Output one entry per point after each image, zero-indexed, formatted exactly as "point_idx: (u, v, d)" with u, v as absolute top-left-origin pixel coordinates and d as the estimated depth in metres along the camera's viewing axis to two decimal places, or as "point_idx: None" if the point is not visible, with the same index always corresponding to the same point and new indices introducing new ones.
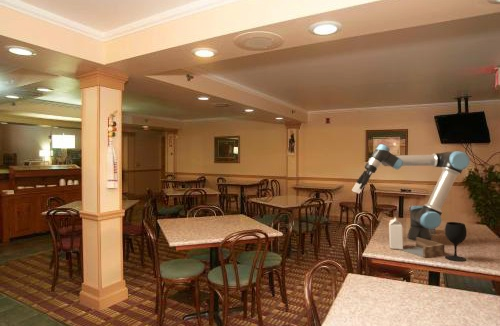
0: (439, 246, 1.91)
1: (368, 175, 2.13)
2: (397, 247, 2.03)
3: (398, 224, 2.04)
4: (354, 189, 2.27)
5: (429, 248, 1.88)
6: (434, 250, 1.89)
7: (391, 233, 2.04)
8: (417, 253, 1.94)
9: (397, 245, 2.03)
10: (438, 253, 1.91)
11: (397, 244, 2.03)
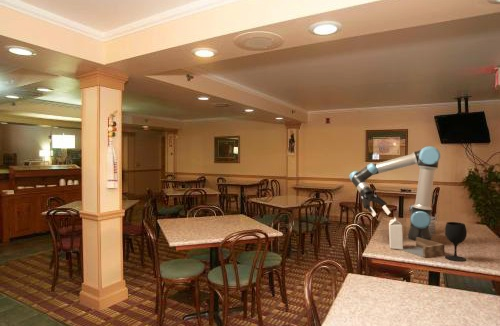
0: (439, 246, 1.91)
1: (363, 199, 2.20)
2: (397, 247, 2.03)
3: (398, 224, 2.04)
4: (387, 212, 2.20)
5: (429, 248, 1.88)
6: (434, 250, 1.89)
7: (391, 233, 2.04)
8: (417, 253, 1.94)
9: (397, 245, 2.03)
10: (438, 253, 1.91)
11: (397, 244, 2.03)
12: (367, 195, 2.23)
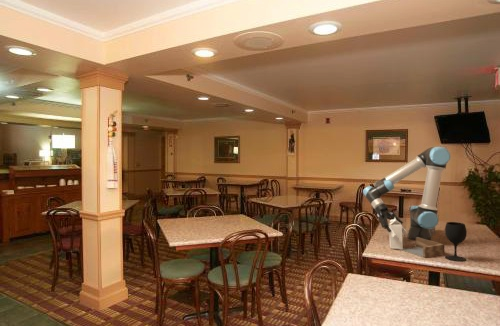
0: (439, 246, 1.91)
1: (379, 218, 2.09)
2: (397, 247, 2.03)
3: (398, 224, 2.04)
4: (403, 232, 2.07)
5: (429, 248, 1.88)
6: (434, 250, 1.89)
7: None
8: (417, 253, 1.94)
9: (397, 245, 2.03)
10: (438, 253, 1.91)
11: (397, 244, 2.03)
12: (382, 212, 2.12)
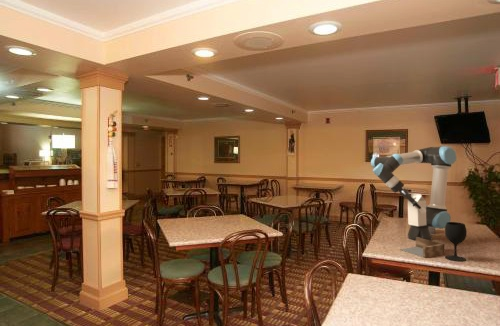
0: (439, 246, 1.91)
1: (406, 195, 1.94)
2: (423, 224, 1.95)
3: (421, 200, 1.96)
4: None
5: (429, 248, 1.88)
6: (434, 250, 1.89)
7: (418, 210, 1.94)
8: (417, 253, 1.94)
9: (422, 221, 1.95)
10: (438, 253, 1.91)
11: (423, 221, 1.95)
12: None
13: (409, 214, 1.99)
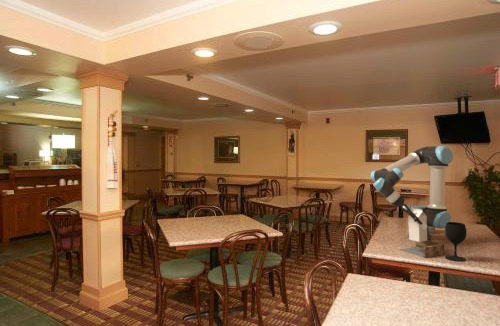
0: (439, 246, 1.91)
1: (408, 211, 1.93)
2: (424, 239, 1.95)
3: (422, 215, 1.96)
4: None
5: (429, 248, 1.88)
6: (434, 250, 1.89)
7: (419, 225, 1.93)
8: (417, 253, 1.94)
9: (423, 237, 1.95)
10: (438, 253, 1.91)
11: (424, 236, 1.95)
12: (404, 205, 1.97)
13: (410, 229, 1.98)
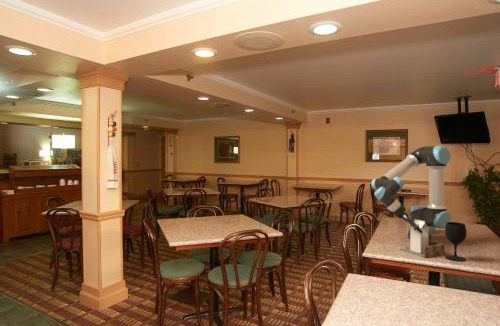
0: (439, 246, 1.91)
1: (408, 219, 1.93)
2: None
3: (424, 227, 1.96)
4: None
5: (429, 248, 1.88)
6: (434, 250, 1.89)
7: (421, 237, 1.93)
8: (417, 253, 1.94)
9: None
10: (438, 253, 1.91)
11: None
12: (405, 214, 1.98)
13: (411, 240, 1.98)
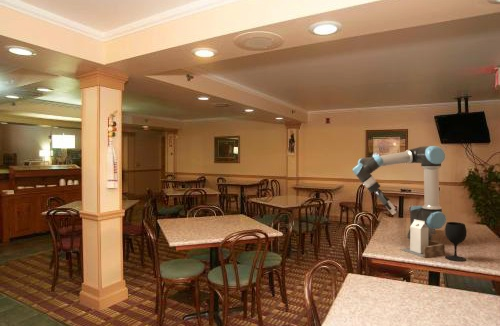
0: (439, 246, 1.91)
1: (379, 196, 2.02)
2: None
3: (424, 227, 1.96)
4: (392, 207, 2.12)
5: (429, 248, 1.88)
6: (434, 250, 1.89)
7: (421, 237, 1.93)
8: (417, 253, 1.94)
9: None
10: (438, 253, 1.91)
11: None
12: (378, 191, 2.06)
13: (411, 240, 1.98)
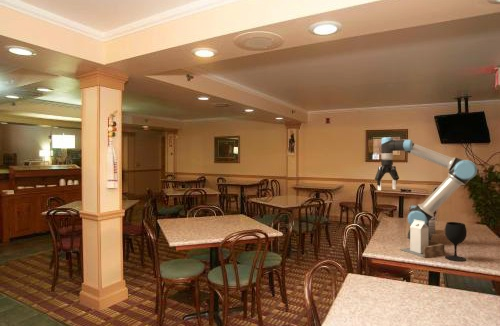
0: (439, 246, 1.91)
1: (378, 170, 2.25)
2: None
3: (424, 227, 1.96)
4: (393, 187, 2.31)
5: (429, 248, 1.88)
6: (434, 250, 1.89)
7: (421, 237, 1.93)
8: (417, 253, 1.94)
9: None
10: (438, 253, 1.91)
11: None
12: (385, 167, 2.26)
13: (411, 240, 1.98)
